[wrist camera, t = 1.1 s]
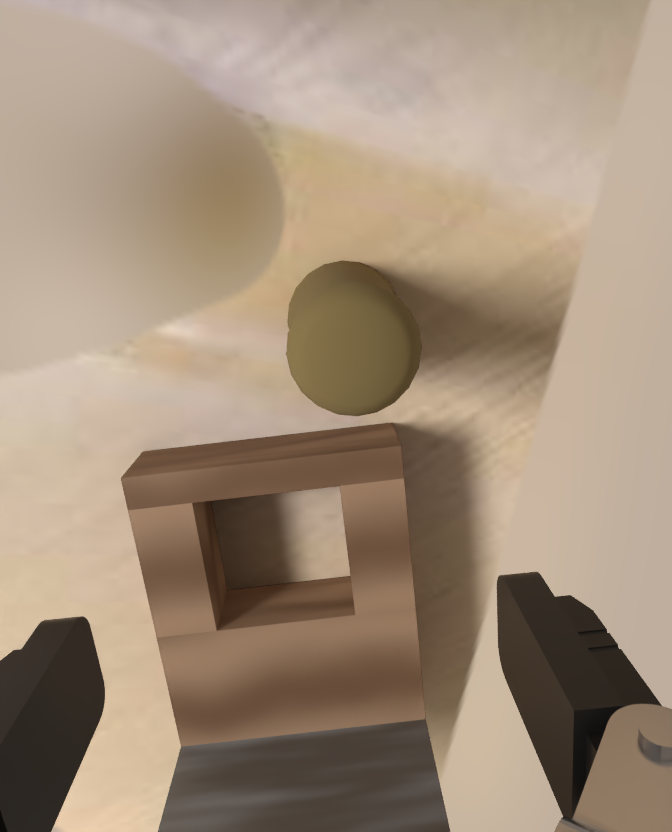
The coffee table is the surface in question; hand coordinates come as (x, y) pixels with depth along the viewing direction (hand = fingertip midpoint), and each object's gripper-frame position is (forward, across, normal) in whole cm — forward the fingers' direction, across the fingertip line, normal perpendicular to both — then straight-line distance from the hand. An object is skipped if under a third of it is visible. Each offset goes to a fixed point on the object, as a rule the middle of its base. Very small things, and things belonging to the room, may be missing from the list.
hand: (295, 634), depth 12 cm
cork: (+23, -2, -3) cm, 23 cm away
